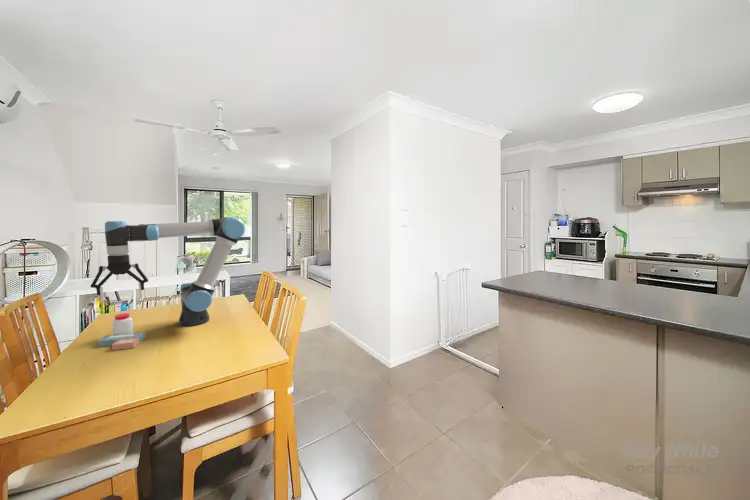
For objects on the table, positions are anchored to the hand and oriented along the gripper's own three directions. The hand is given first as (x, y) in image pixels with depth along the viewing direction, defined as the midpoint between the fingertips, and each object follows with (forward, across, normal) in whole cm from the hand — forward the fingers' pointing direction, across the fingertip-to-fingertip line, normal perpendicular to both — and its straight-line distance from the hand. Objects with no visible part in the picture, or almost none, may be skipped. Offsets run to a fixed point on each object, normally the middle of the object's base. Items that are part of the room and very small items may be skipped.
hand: (122, 299), depth 137 cm
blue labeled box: (+21, +1, -2) cm, 21 cm away
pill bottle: (+21, +1, -10) cm, 24 cm away
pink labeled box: (+21, 0, +6) cm, 22 cm away
